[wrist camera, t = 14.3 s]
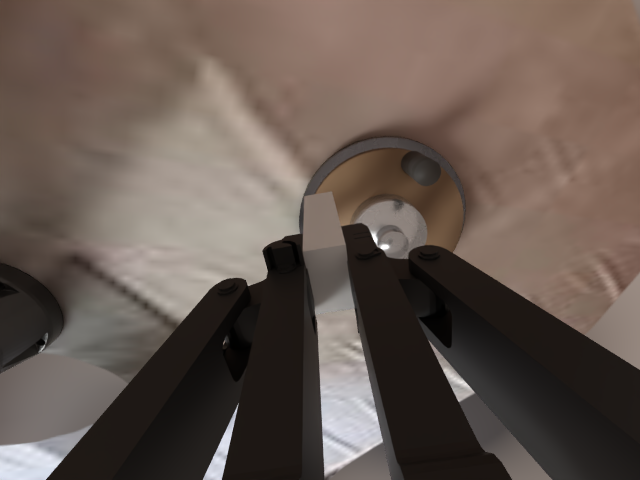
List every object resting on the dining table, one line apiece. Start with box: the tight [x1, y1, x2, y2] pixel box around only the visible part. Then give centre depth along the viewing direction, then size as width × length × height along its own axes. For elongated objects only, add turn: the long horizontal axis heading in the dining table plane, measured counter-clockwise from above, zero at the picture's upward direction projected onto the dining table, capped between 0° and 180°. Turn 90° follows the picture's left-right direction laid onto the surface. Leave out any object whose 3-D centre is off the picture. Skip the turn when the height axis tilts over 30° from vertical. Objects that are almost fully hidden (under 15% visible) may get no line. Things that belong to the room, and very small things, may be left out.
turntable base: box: [299, 136, 466, 234], centre depth 38 cm, size 20×20×1 cm
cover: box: [350, 194, 427, 259], centre depth 34 cm, size 8×8×5 cm
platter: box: [315, 147, 463, 253], centre depth 34 cm, size 18×18×6 cm
